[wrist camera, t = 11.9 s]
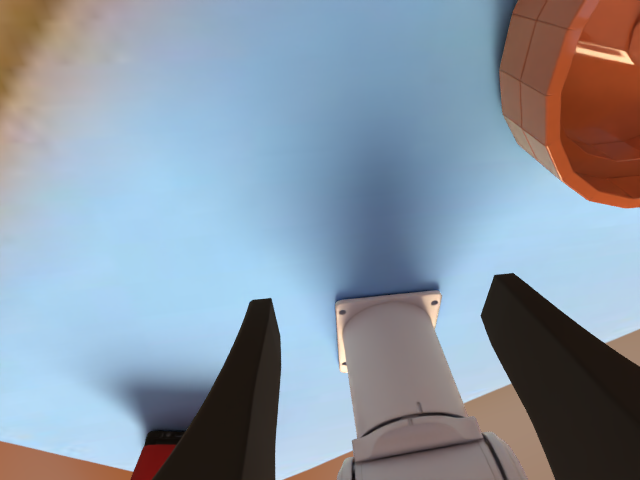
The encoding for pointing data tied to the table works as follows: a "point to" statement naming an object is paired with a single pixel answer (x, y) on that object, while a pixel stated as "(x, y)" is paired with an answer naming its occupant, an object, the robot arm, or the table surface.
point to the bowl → (576, 93)
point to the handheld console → (155, 453)
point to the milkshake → (635, 44)
